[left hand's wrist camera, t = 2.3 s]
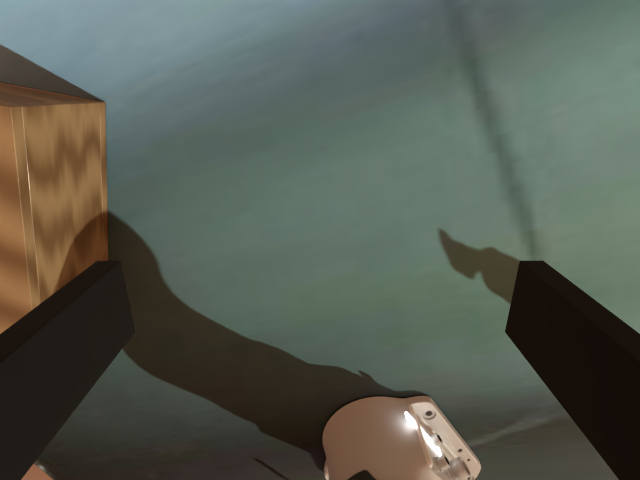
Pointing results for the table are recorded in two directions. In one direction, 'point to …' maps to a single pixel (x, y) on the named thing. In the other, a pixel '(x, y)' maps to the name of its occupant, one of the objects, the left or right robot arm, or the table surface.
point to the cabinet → (49, 194)
